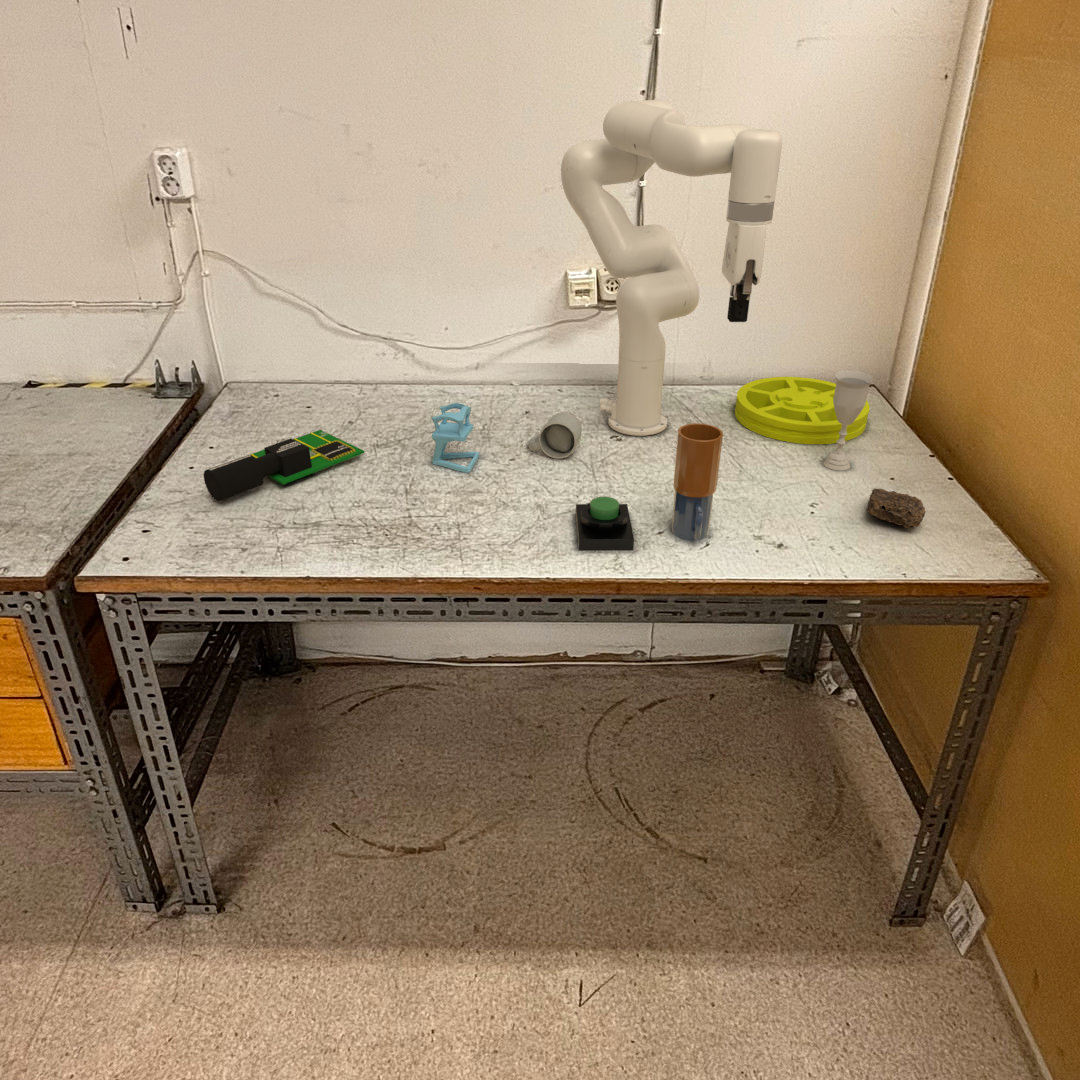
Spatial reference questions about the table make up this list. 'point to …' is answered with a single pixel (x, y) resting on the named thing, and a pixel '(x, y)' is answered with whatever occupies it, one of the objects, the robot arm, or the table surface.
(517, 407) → the table surface
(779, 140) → the robot arm
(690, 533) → the mug
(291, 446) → the circuit board with cylinder
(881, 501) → the concrete sample
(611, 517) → the button
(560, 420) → the ceramic mug
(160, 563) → the table surface
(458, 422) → the chair
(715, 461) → the glass
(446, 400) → the table surface
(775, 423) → the pulley
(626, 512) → the button box
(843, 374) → the chalice
